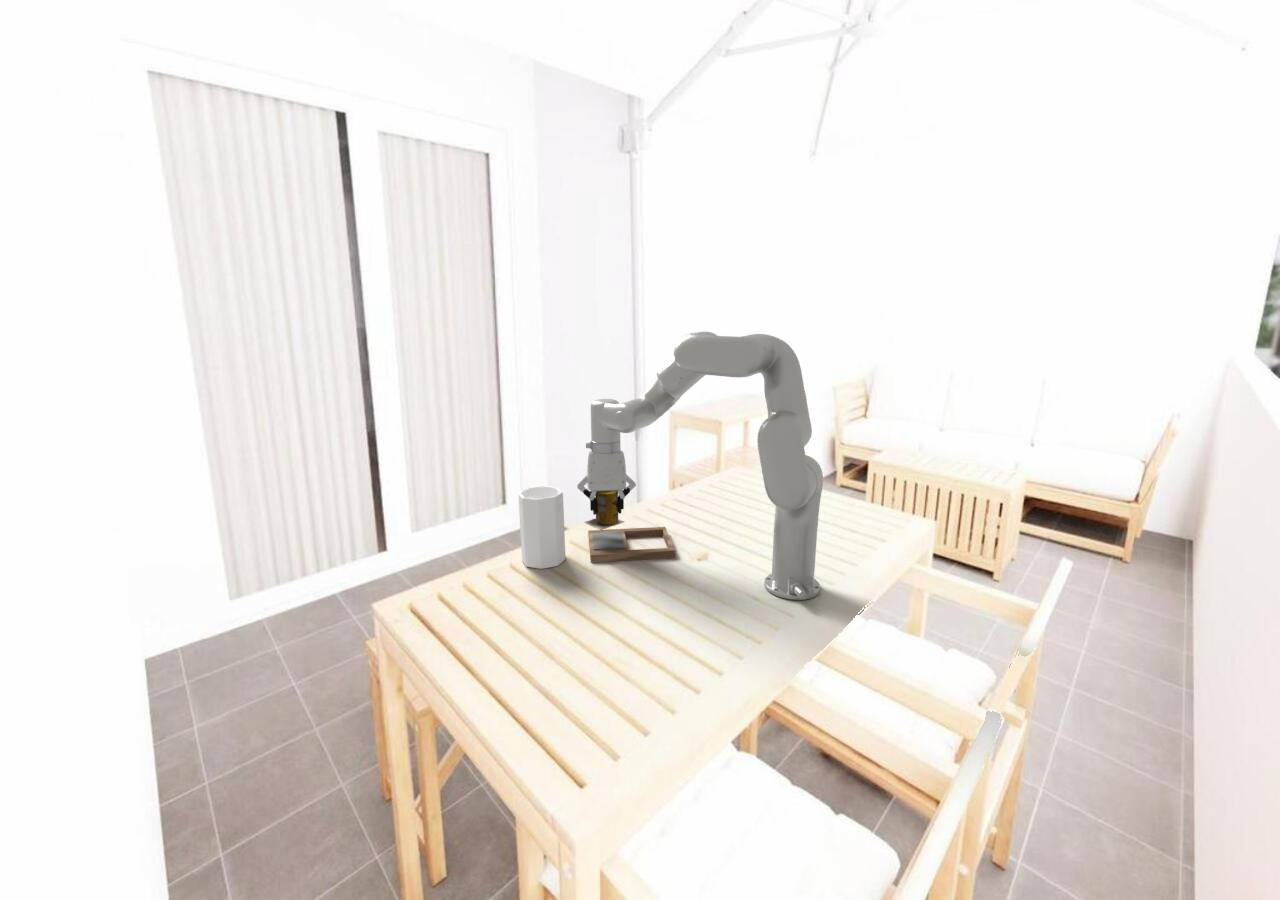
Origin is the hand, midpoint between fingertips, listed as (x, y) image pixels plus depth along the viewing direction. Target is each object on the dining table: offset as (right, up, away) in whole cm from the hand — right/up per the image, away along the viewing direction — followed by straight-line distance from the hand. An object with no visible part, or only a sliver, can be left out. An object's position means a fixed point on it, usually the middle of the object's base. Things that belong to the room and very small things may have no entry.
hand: (607, 511), depth 160 cm
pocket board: (+6, -10, +3) cm, 12 cm away
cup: (-16, -12, -5) cm, 21 cm away
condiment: (-1, -3, +1) cm, 3 cm away
